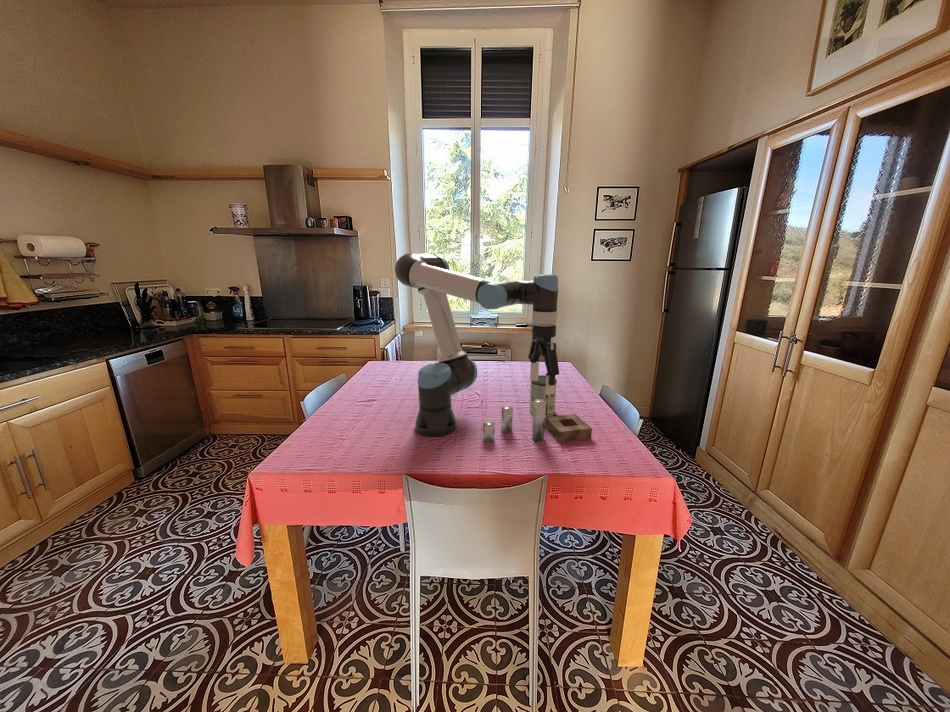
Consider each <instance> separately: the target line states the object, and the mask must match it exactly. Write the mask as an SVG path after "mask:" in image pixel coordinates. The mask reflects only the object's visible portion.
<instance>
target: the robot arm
mask: <svg viewBox="0 0 950 712" xmlns="http://www.w3.org/2000/svg"><path fill="white" fill-rule="evenodd" d="M394 266H395V267H394V274H395V276H396V279H397V281H398V282H400V283H401V284H402V285H403V286H406V287H411V288H414V289H417V291H418V294H420V295H422V296H423V298H424V302H425V305H426V308H427V311H428V316H429V320H430V323H431V326H432V330H433V334H434V337H435V340H436V345H437V348H438V351H439V356H440V357H439V358H438V362H434V363H428V364H426V365H424V366H423V367H421V368H420V369H419V371H418V373H417V374H418V375H417V385H418V386H417V387H418V402H419V403H418V404H419V406H418V407H419V408H418V409H419V410H418V413H417V416H416V419H415V424H414V425H415V431H416V432H417V433H418V434H420V435H423V436H425V437H431V438H432V437H443V436H446V435H449V434H451V433H453V432H454V431H455V430H456V429H457V419H456V416H455V414H454V413H455V412H454V410H453V408H452V396H453V395H455V394H457V393H459V392H461V391H463V390H466V389H468V388H469V387H471V386H472V385H473V384H474V383H475V381H476V380H477V378H478V367H477V364H476V362H475V361H473V360H472V359H471V358H470V357H469V356H468V353H467V352H466V351H464V350H463V348H462V346H461V345H462V344H461V343H460V339H459V334H458V332H457V327H456V324H455V321H454V316H453V314H452V309H451V306H450V302H449V299H448V296H447V295H449V296H453V297H457V298H460V299H462V300H463V299H464V300H466V301H471V302H472V303H473V302H474V303H478V304H479V305H480V306H481V307H482V308H484V309H486V310H498V309H501V308H504V307H508V306H514V305H529V306H531V305H532V315H531V316H532V317H531V323H532V327H531V337H532V338H531V344H530V348H529V351H528V356H527V357H528V360H529V362H530V370H529V371H530V373H529V374H530V375H529V376H530V377H529V381H530V382H531V381H538V376H539V367H540V357H541V356H542V357H543V360H544V364H545V369H546V372H547V373H545V376H546V391H545V394H546V395H551V394H554V391H555V379H556V376H559V375H560V369H559V363H558V355H557V343H556V342H552V338H555V337H556V336H557V335H556V334H557V325H556V323H557V316H558V298H559V297H558V296H559V278H558V276H557V275H556V274H550V273H548V274H545V273H544V274H543V273H542V274H541V273H540V274H535V275H534V276H533V279H532V280H517V279H515V280H514V279H507V280H502V281H495V280H490V279H486V278H482V277H477V276H475V275H469V274H467V273H466V274H465V273H462V272H458V271H455V270H450V265H449V263H448V261H447V259H445V258H444V256H442V255H440V254H436V253H431V252H430V253H429V252H428V253H417V252H415V253H413V252H411V253H410V252H409V253H405V254H403V255H401V256H400V257H399V258H398V259H397V260H396V262H395V265H394Z"/></svg>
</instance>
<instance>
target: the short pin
mask: <svg viewBox="0 0 950 712" xmlns="http://www.w3.org/2000/svg"><path fill="white" fill-rule="evenodd" d="M495 425H496V424H495V422H494V421H490V420H486V421H484V422H483V424H482V440H483V442H485V443H493V442H495V439H496V437H495V436H496V435H495V434H496V433H495V432H496V431H495V429H496V426H495Z"/></svg>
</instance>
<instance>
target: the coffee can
mask: <svg viewBox="0 0 950 712" xmlns="http://www.w3.org/2000/svg"><path fill="white" fill-rule="evenodd" d="M557 382H558V380H557V378H555V391H554V394H551V395H546V394H545V391H546V375H543V374H542V375H540V374H539V375H538V381H530V396H529V397H530V398H529V413H530V414H531V415H533V412H534V400H536V399H542V400H545V401H546V411H545V418H546V417H550V416H553V415H554V414H555V413H556V412H555V411H556V393H557ZM554 416H555V415H554Z"/></svg>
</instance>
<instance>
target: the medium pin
mask: <svg viewBox="0 0 950 712" xmlns="http://www.w3.org/2000/svg"><path fill="white" fill-rule="evenodd" d="M513 409H514V407H513V406H512V405H502V407H501V419H500V420H501V427H500V429H501V430H500V431H501V432H502V433H504V434H511V433H512V432H513V419H514V418H513V417H514V416H513V415H514V414H513V413H514V412H513V411H514V410H513Z"/></svg>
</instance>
